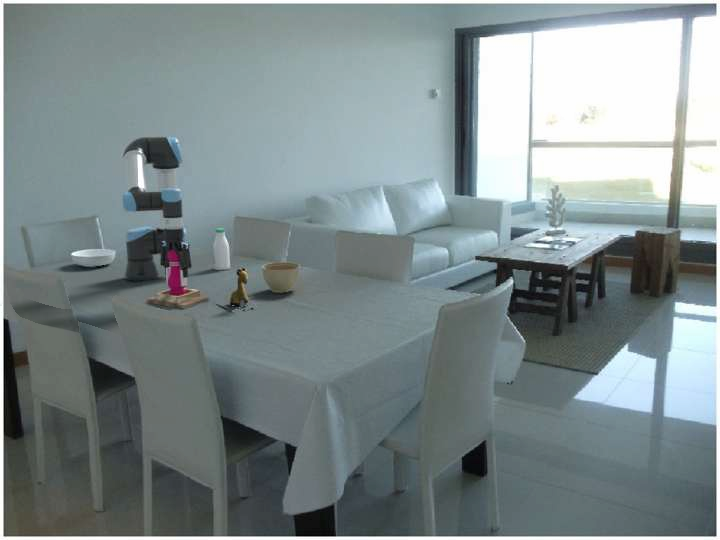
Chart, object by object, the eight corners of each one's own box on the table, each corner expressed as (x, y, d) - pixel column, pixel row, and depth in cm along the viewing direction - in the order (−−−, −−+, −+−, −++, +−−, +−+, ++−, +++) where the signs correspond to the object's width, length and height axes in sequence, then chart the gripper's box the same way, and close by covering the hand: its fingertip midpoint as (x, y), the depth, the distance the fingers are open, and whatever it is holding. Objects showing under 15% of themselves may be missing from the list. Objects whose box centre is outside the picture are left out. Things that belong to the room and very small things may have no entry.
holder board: (147, 302, 273) (146, 292, 272) (172, 294, 284) (171, 285, 284) (184, 308, 263) (183, 298, 262) (208, 300, 275) (208, 291, 274)
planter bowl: (255, 291, 291) (254, 266, 288) (283, 284, 302) (283, 260, 300) (279, 297, 280) (278, 271, 278) (308, 290, 291) (307, 265, 289)
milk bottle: (233, 268, 336) (231, 228, 332) (222, 271, 329) (220, 230, 325) (221, 266, 340) (219, 227, 336) (210, 269, 333) (208, 229, 329)
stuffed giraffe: (232, 313, 257) (231, 271, 255) (213, 304, 272) (211, 265, 269) (270, 308, 267) (269, 268, 264) (249, 300, 281) (248, 262, 278)
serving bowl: (107, 270, 333) (106, 256, 331) (65, 270, 333) (63, 256, 332) (122, 261, 353) (121, 248, 352) (82, 261, 353) (81, 248, 352)
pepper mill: (181, 296, 269) (178, 247, 265) (165, 295, 270) (161, 246, 266) (190, 292, 276) (187, 243, 271) (173, 291, 277) (170, 243, 273)
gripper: (148, 227, 269) (152, 283, 274) (185, 230, 259) (189, 289, 264) (161, 224, 275) (165, 279, 280) (199, 228, 266) (202, 285, 271)
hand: (177, 284), depth 272 cm, fingers closed on pepper mill, 7 cm apart
